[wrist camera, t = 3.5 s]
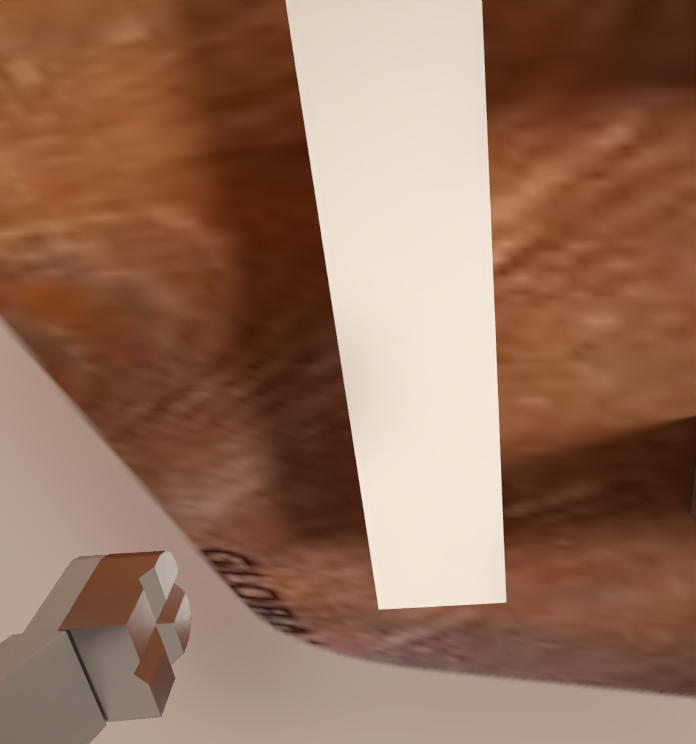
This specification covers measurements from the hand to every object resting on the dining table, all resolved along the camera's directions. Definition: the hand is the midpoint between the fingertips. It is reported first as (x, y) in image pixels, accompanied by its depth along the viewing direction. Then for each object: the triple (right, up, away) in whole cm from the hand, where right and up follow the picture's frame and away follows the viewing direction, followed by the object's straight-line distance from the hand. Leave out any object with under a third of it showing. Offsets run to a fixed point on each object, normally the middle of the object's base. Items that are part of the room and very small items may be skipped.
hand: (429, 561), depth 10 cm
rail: (+1, +5, +10) cm, 11 cm away
